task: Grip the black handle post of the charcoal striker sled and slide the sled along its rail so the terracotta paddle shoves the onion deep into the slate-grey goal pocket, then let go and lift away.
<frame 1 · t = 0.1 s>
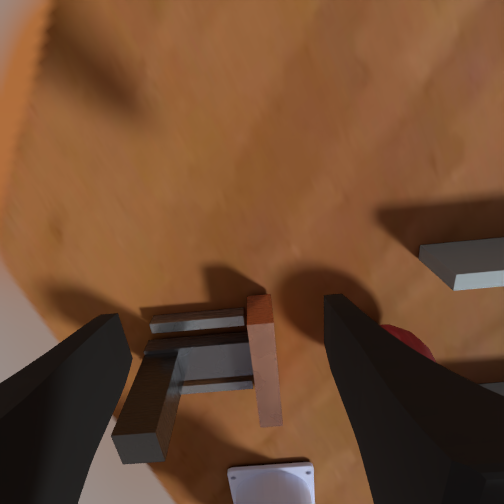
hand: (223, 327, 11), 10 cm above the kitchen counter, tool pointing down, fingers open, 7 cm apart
rail: (205, 348, 24), on the kitchen counter
goal: (491, 324, 24), on the kitchen counter
striker: (208, 390, 21), point 4 cm above the kitchen counter, slide at 0.0 cm
onion: (367, 332, 24), on the kitchen counter
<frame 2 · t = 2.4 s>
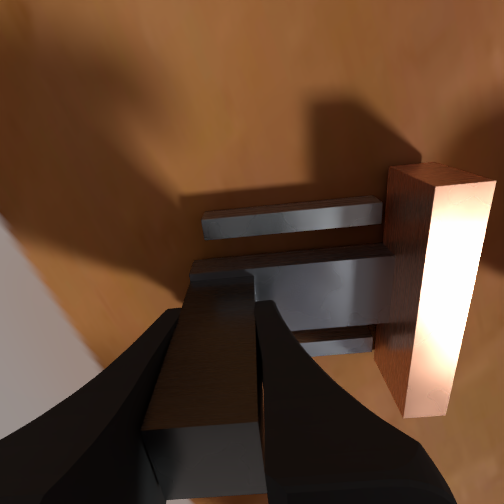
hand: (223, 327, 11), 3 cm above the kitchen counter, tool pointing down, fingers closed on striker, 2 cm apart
rail: (292, 280, 14), on the kitchen counter
striker: (327, 339, 10), point 4 cm above the kitchen counter, slide at 0.0 cm, touching gripper
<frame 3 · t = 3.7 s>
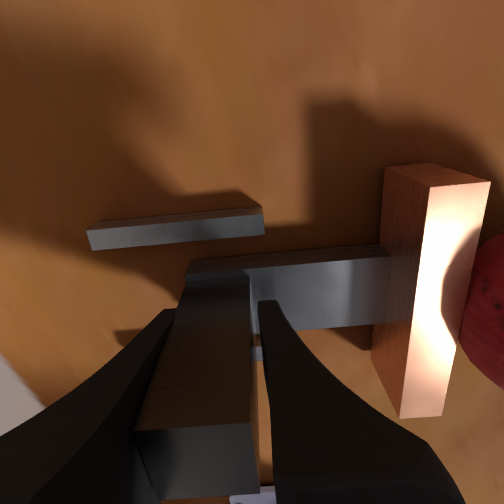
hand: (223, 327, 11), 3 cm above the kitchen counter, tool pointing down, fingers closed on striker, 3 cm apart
rail: (193, 288, 14), on the kitchen counter
striker: (322, 340, 10), point 4 cm above the kitchen counter, slide at 4.1 cm, touching gripper, onion
onion: (478, 261, 14), on the kitchen counter, touching striker
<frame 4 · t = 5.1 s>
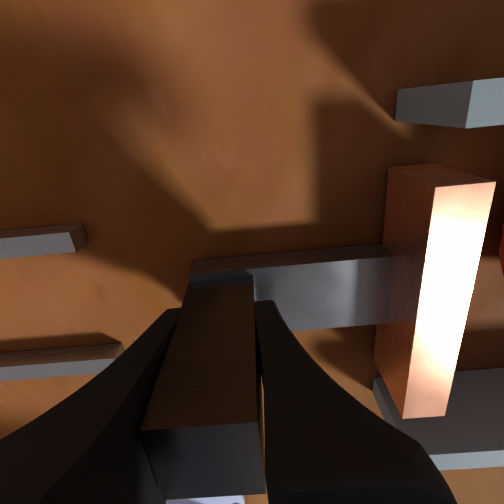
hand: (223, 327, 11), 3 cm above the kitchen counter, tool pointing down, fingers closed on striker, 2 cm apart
rail: (34, 302, 14), on the kitchen counter
striker: (327, 340, 10), point 4 cm above the kitchen counter, slide at 11.4 cm, touching gripper
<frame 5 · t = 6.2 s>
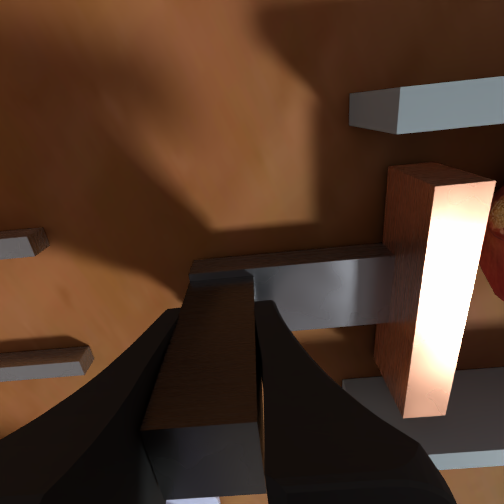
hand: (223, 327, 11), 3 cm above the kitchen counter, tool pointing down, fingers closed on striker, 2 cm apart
goal: (488, 262, 14), on the kitchen counter
striker: (327, 339, 10), point 4 cm above the kitchen counter, slide at 13.0 cm, touching gripper, onion
onion: (498, 201, 9), point 3 cm above the kitchen counter, touching striker
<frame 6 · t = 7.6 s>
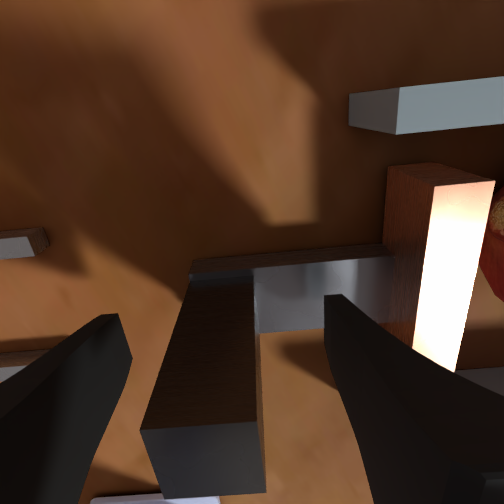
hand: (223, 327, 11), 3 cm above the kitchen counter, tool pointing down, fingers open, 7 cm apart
goal: (487, 262, 14), on the kitchen counter
striker: (326, 339, 10), point 4 cm above the kitchen counter, slide at 13.0 cm
onion: (499, 202, 9), point 3 cm above the kitchen counter
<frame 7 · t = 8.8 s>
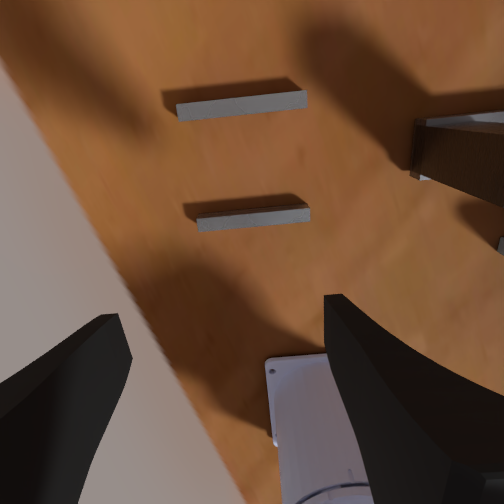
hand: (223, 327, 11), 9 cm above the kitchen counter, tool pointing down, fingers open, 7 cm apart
rail: (248, 164, 18), on the kitchen counter
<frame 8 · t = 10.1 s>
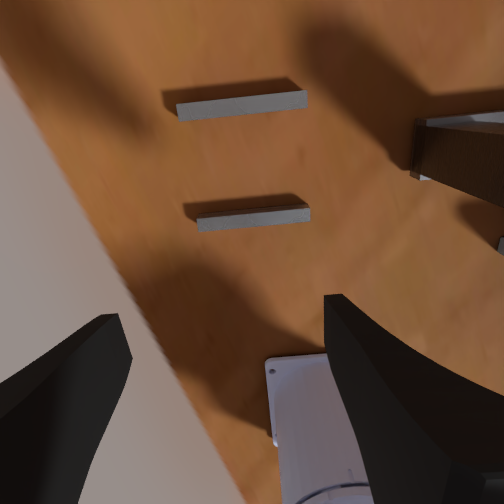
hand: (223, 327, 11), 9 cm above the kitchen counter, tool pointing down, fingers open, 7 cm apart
rail: (248, 164, 18), on the kitchen counter
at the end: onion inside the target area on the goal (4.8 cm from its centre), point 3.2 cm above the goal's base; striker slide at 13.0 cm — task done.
